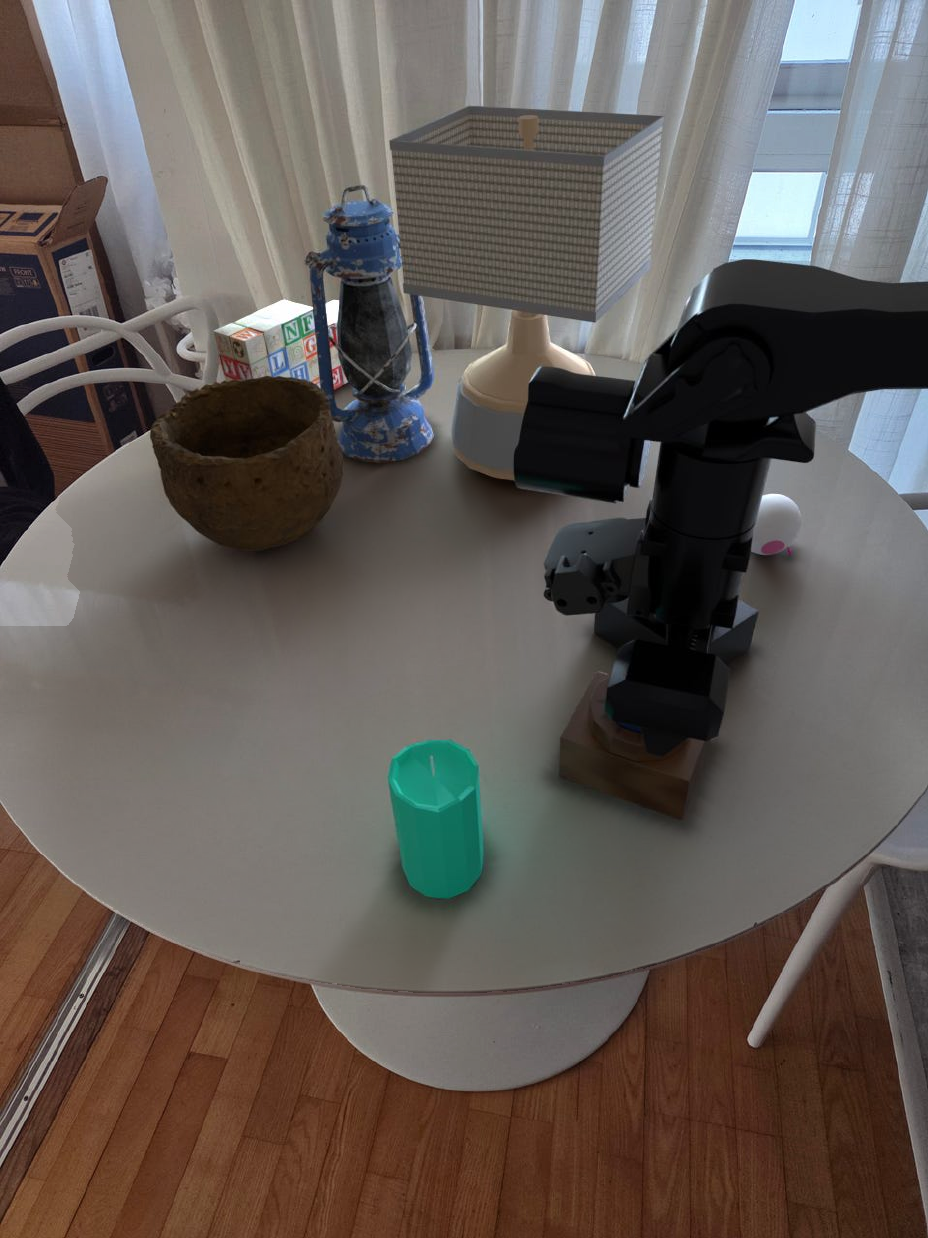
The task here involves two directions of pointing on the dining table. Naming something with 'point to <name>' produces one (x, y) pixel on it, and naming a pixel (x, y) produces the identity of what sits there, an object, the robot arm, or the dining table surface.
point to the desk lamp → (523, 240)
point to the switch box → (627, 628)
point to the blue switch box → (626, 758)
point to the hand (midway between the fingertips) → (666, 702)
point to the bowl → (250, 460)
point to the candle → (437, 816)
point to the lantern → (370, 334)
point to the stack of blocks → (277, 344)
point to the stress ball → (775, 525)
